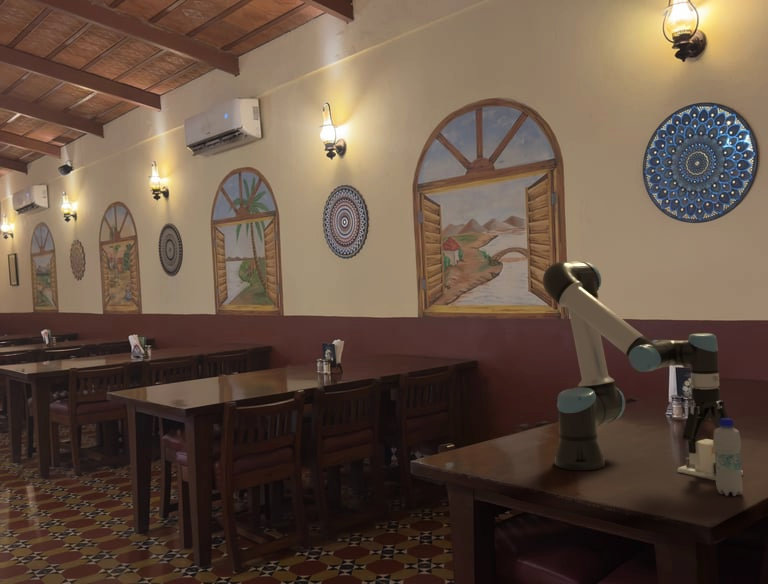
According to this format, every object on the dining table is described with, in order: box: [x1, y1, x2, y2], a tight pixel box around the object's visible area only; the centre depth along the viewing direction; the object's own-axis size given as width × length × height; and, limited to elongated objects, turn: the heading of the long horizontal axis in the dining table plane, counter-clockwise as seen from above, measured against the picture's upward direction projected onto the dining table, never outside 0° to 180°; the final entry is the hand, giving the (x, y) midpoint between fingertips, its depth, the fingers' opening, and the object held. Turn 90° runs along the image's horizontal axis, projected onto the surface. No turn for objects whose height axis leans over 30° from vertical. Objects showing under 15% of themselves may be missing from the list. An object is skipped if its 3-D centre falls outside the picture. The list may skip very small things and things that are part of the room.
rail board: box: [677, 457, 744, 481], centre depth 202 cm, size 10×14×3 cm
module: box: [695, 438, 716, 473], centre depth 202 cm, size 6×5×8 cm
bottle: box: [712, 417, 744, 497], centre depth 183 cm, size 7×7×20 cm
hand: (709, 460), depth 202 cm, fingers open, 13 cm apart
